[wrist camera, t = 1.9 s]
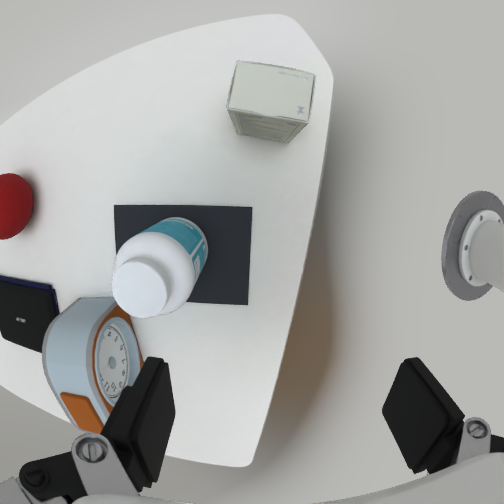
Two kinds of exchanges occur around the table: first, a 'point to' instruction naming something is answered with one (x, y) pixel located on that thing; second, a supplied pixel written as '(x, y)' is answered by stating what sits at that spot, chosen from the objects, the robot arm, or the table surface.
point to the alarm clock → (90, 360)
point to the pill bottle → (159, 268)
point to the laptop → (26, 311)
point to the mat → (218, 240)
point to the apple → (14, 205)
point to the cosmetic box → (270, 100)
